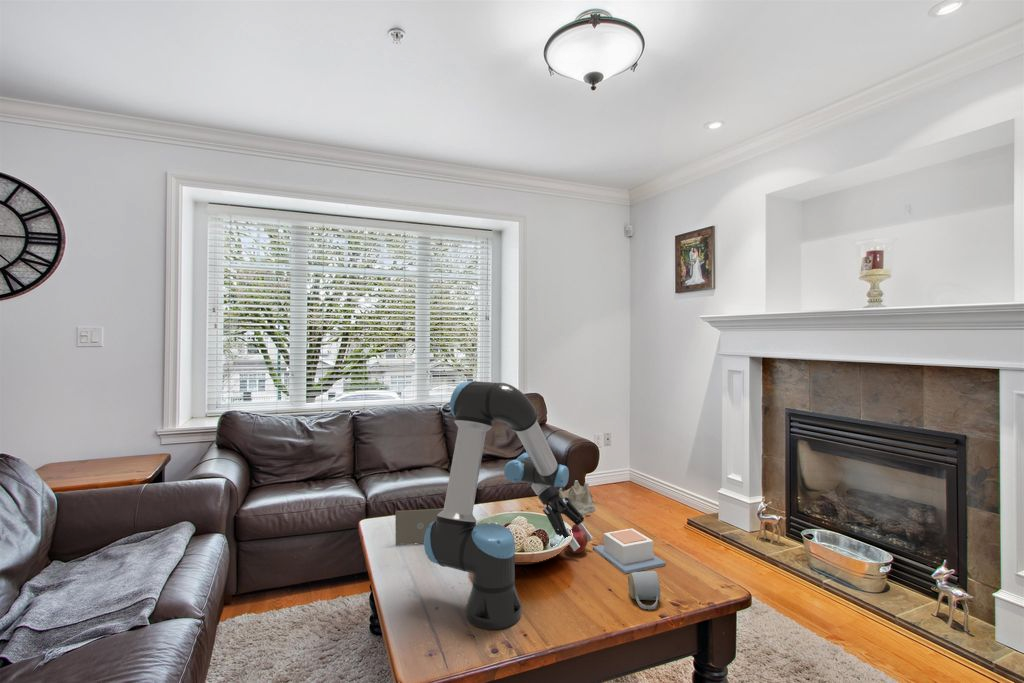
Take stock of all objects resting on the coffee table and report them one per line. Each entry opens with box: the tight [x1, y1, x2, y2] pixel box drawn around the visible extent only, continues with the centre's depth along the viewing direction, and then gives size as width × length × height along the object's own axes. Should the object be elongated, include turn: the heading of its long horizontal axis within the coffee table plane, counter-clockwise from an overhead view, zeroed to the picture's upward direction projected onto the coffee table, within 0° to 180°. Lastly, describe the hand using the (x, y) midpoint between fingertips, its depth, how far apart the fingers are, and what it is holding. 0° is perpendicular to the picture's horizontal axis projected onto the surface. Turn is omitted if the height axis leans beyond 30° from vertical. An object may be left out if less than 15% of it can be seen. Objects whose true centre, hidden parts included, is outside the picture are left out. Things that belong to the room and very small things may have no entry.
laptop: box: [394, 508, 444, 546], centre depth 190 cm, size 18×12×13 cm
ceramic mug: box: [627, 570, 661, 611], centre depth 144 cm, size 11×8×8 cm
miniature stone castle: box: [558, 480, 596, 517], centre depth 221 cm, size 16×16×15 cm
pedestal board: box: [592, 528, 667, 575], centre depth 173 cm, size 20×16×7 cm
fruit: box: [566, 523, 588, 554], centre depth 176 cm, size 8×8×10 cm
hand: (583, 544), depth 174 cm, fingers open, 8 cm apart
